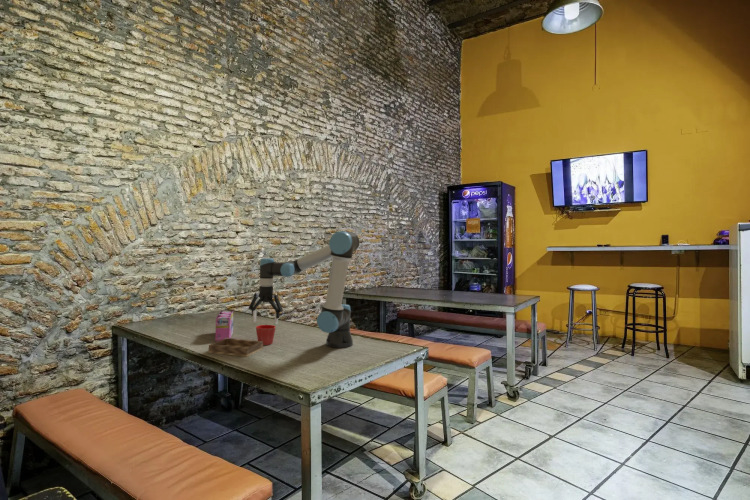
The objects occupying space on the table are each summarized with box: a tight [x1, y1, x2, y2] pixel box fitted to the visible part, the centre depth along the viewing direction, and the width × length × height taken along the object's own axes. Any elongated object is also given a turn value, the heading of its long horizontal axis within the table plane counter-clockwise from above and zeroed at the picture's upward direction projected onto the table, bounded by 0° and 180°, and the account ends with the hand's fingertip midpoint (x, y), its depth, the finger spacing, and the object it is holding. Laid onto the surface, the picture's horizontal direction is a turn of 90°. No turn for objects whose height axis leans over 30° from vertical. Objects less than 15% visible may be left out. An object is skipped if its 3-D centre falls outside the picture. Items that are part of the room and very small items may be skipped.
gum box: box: [214, 310, 234, 342], centre depth 252 cm, size 24×8×14 cm, turn 13°
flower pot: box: [255, 324, 277, 346], centre depth 237 cm, size 11×11×10 cm
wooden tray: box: [208, 337, 264, 358], centre depth 221 cm, size 22×16×4 cm
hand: (265, 323), depth 236 cm, fingers open, 13 cm apart
